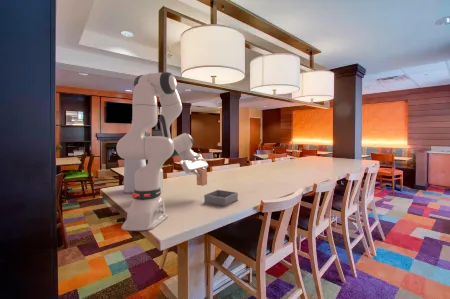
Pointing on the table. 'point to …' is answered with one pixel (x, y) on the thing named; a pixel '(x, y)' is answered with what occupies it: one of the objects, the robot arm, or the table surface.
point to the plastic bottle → (131, 173)
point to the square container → (202, 177)
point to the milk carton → (161, 180)
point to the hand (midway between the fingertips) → (202, 175)
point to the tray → (221, 197)
